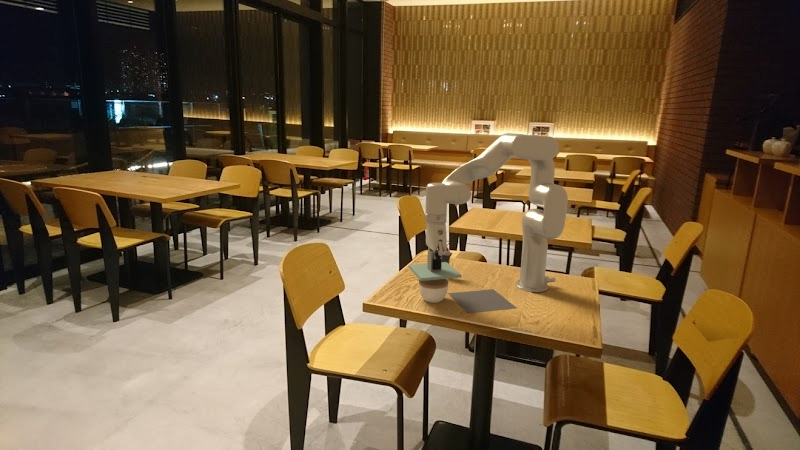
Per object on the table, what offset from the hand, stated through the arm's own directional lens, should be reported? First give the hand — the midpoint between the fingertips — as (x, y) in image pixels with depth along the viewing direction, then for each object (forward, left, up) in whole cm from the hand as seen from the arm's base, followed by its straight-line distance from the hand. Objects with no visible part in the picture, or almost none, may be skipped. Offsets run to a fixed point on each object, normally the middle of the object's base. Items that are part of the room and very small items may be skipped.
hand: (434, 266), depth 172 cm
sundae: (-13, -24, -13) cm, 30 cm away
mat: (-17, +5, -13) cm, 22 cm away
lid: (0, 0, -2) cm, 2 cm away
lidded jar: (0, 0, -13) cm, 13 cm away
